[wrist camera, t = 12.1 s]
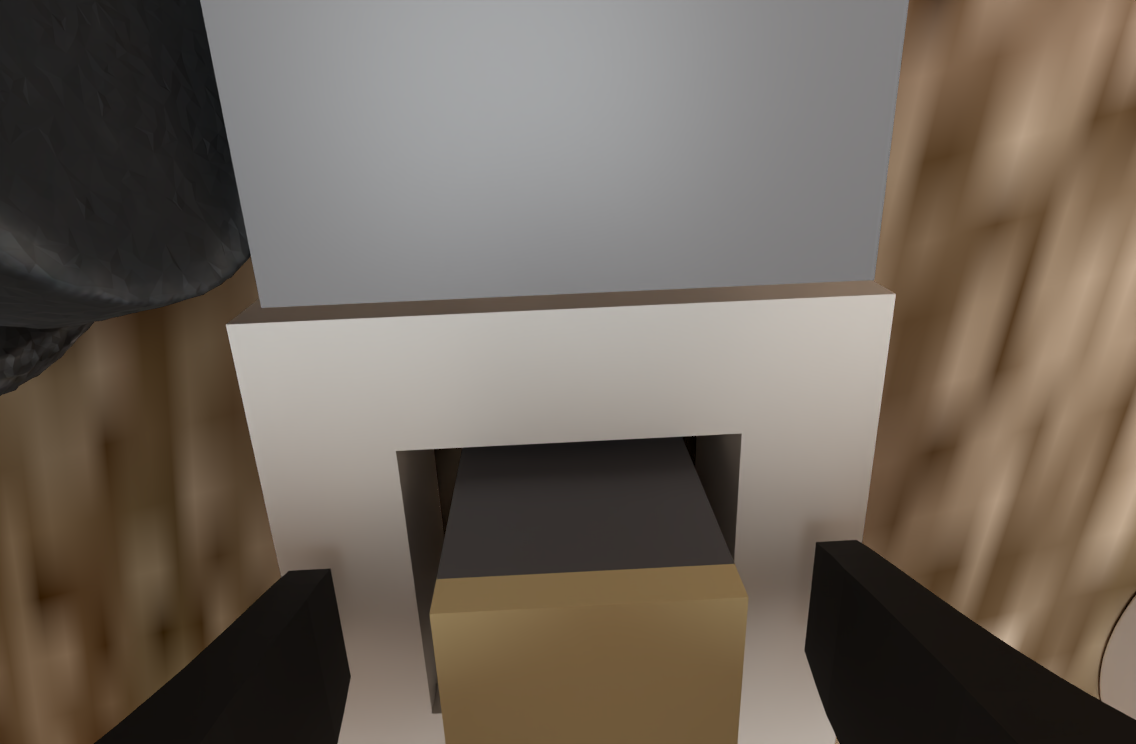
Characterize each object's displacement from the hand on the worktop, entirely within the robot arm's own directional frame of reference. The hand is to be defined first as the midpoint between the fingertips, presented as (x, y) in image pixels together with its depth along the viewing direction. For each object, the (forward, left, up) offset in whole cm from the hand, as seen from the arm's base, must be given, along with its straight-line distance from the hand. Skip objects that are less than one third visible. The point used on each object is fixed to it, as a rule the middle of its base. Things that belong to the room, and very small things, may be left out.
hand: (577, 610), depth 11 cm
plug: (0, 0, -4) cm, 4 cm away
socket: (0, 0, -4) cm, 4 cm away
